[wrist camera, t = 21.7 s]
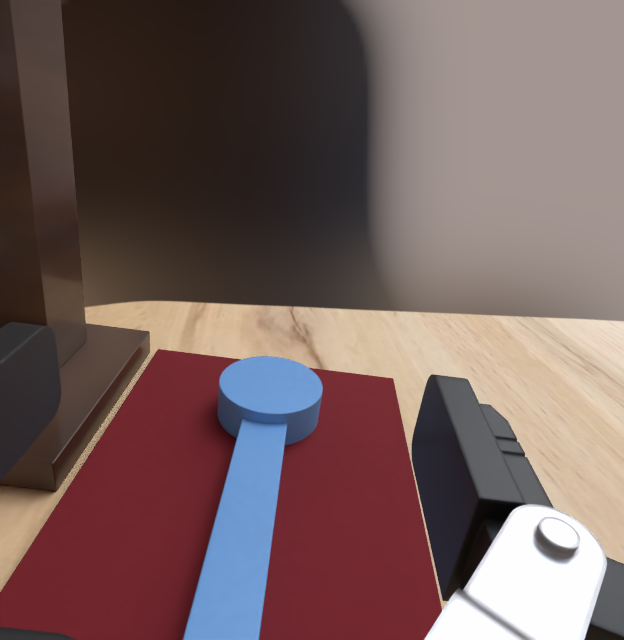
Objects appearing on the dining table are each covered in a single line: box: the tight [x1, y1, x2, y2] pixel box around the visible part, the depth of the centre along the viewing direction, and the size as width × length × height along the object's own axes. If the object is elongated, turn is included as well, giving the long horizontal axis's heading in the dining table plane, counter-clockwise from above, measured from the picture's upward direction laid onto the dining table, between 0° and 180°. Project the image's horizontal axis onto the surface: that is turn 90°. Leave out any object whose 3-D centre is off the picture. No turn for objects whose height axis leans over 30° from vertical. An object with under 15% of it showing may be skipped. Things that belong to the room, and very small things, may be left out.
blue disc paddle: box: [183, 356, 323, 640], centre depth 20 cm, size 5×20×2 cm, turn 178°
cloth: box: [0, 349, 442, 640], centre depth 22 cm, size 15×21×1 cm
